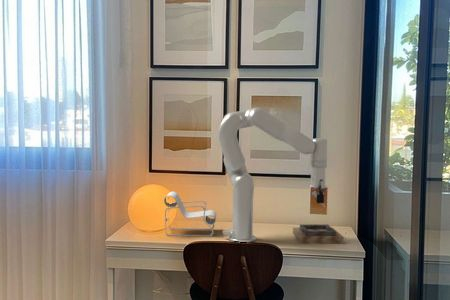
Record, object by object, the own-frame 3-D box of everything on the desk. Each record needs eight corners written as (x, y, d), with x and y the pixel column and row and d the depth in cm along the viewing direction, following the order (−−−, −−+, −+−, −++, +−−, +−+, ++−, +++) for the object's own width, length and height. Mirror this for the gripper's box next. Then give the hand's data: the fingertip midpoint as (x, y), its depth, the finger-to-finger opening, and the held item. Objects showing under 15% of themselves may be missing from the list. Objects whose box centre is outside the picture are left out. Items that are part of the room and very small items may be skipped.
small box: (309, 214, 207) (310, 186, 207) (309, 211, 214) (309, 185, 213) (327, 214, 206) (327, 187, 205) (326, 212, 212) (326, 185, 212)
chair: (167, 229, 226) (167, 191, 225) (216, 229, 226) (216, 191, 225) (163, 235, 213) (163, 195, 212) (215, 236, 213) (215, 196, 212)
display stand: (300, 243, 201) (300, 232, 201) (292, 233, 219) (292, 223, 219) (343, 243, 202) (343, 232, 202) (332, 233, 220) (332, 223, 220)
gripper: (306, 162, 217) (306, 198, 218) (315, 166, 200) (314, 204, 201) (321, 162, 217) (321, 198, 218) (331, 166, 200) (331, 204, 201)
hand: (318, 201), depth 210 cm, fingers closed on small box, 7 cm apart
